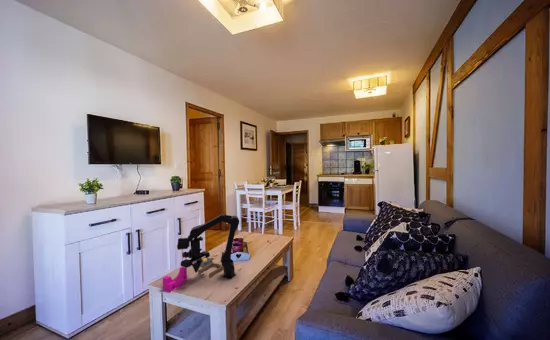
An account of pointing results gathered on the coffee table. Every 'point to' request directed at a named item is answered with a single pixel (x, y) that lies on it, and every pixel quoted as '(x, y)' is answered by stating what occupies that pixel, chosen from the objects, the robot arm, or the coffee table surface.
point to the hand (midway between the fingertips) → (196, 272)
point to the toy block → (175, 280)
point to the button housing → (206, 262)
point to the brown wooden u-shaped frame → (210, 267)
